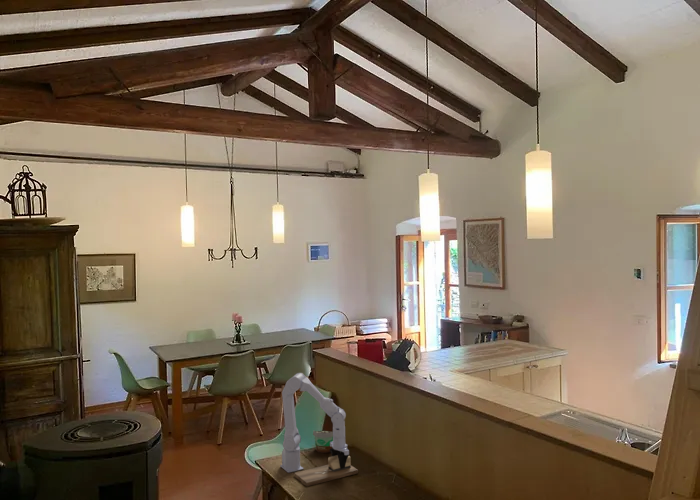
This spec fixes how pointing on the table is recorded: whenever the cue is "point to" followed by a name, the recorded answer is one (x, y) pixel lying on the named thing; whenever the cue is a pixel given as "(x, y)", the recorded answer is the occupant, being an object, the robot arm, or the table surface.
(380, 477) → the table surface
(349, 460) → the block
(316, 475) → the walnut board
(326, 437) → the food container
